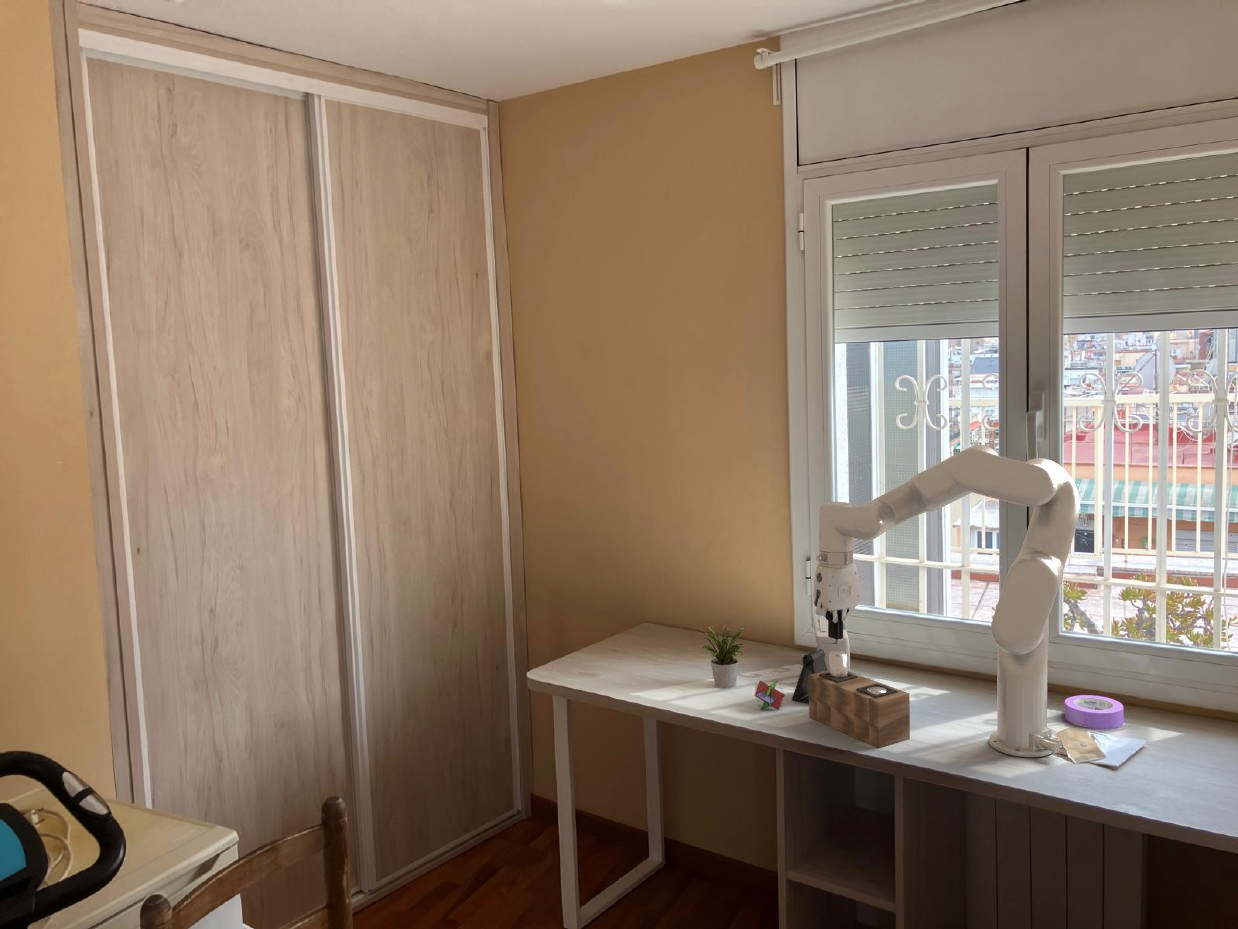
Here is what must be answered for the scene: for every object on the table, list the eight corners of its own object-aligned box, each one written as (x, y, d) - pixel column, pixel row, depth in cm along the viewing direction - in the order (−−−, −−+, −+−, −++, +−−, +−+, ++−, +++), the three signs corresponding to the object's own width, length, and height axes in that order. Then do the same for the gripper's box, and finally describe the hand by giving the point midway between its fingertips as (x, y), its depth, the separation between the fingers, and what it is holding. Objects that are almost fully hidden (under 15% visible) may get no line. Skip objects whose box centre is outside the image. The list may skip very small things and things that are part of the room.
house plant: (687, 693, 245) (685, 629, 243) (696, 675, 259) (694, 614, 257) (745, 696, 242) (743, 630, 240) (751, 678, 255) (749, 616, 253)
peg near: (890, 731, 212) (890, 690, 211) (877, 735, 210) (876, 694, 210) (877, 725, 216) (877, 685, 215) (863, 729, 214) (863, 689, 213)
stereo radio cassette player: (850, 688, 244) (849, 609, 242) (816, 688, 246) (815, 609, 243) (845, 662, 265) (843, 589, 263) (813, 662, 266) (812, 589, 264)
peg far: (851, 693, 222) (851, 654, 221) (838, 696, 220) (837, 657, 219) (839, 688, 226) (838, 649, 225) (826, 691, 224) (825, 653, 223)
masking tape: (1054, 720, 219) (1055, 703, 218) (1079, 707, 226) (1079, 691, 226) (1108, 734, 210) (1109, 717, 209) (1132, 720, 217) (1132, 703, 217)
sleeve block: (909, 738, 211) (909, 691, 210) (878, 748, 207) (878, 700, 206) (839, 709, 230) (838, 665, 229) (809, 717, 226) (808, 673, 225)
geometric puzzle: (796, 698, 232) (777, 669, 234) (783, 707, 227) (764, 677, 229) (774, 712, 236) (755, 683, 238) (761, 721, 230) (742, 691, 233)
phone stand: (791, 700, 237) (790, 652, 236) (803, 693, 242) (802, 645, 241) (826, 707, 232) (825, 657, 231) (837, 700, 237) (836, 651, 235)
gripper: (821, 564, 213) (821, 647, 215) (872, 556, 220) (872, 636, 222) (798, 558, 219) (798, 639, 222) (849, 550, 227) (849, 628, 229)
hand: (835, 637), depth 222 cm, fingers closed
